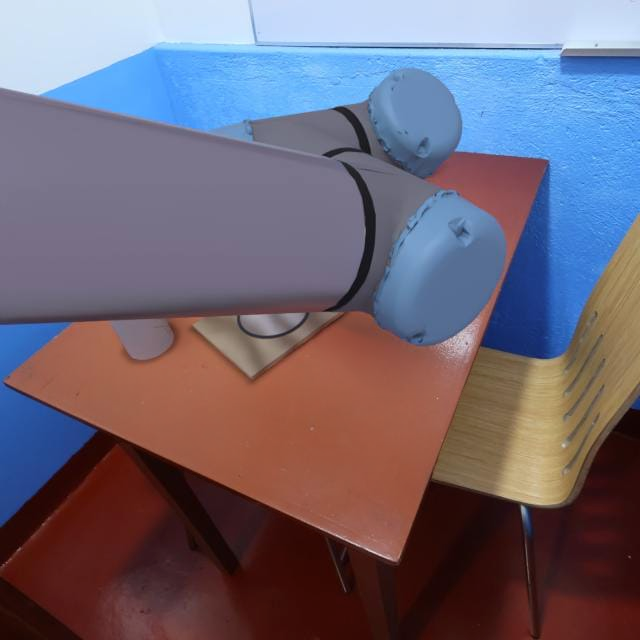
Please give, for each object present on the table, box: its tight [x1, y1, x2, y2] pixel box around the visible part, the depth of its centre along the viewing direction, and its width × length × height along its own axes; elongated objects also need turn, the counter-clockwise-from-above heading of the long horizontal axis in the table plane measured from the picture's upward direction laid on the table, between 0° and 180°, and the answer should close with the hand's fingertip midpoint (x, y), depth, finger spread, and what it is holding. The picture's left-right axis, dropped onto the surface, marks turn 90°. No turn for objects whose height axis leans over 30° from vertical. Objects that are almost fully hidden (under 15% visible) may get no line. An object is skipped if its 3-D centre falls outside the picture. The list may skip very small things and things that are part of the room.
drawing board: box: [191, 312, 345, 382], centre depth 82 cm, size 20×18×1 cm
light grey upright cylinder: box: [108, 318, 175, 361], centre depth 78 cm, size 8×8×12 cm
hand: (276, 268), depth 69 cm, fingers closed on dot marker, 4 cm apart
